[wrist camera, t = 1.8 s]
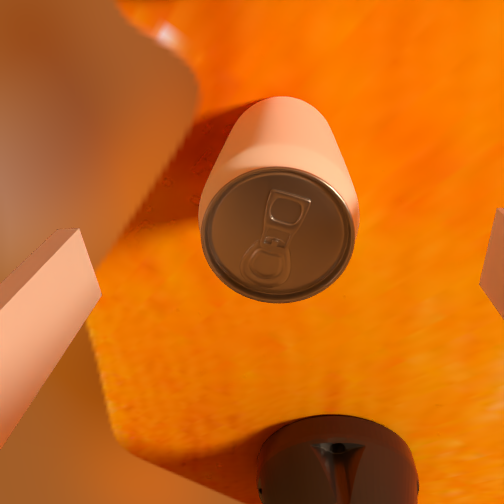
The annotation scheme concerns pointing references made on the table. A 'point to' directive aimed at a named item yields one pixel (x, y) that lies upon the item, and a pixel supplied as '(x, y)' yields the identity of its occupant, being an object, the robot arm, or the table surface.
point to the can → (279, 205)
